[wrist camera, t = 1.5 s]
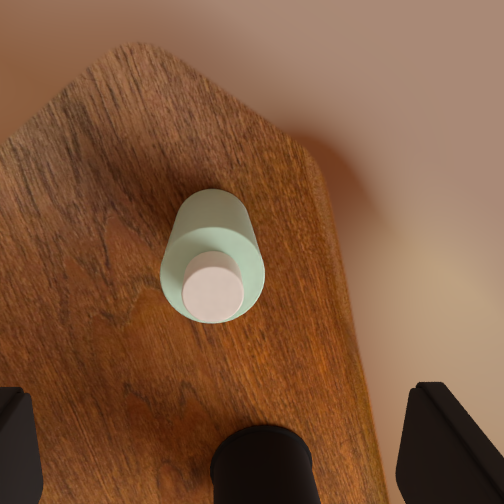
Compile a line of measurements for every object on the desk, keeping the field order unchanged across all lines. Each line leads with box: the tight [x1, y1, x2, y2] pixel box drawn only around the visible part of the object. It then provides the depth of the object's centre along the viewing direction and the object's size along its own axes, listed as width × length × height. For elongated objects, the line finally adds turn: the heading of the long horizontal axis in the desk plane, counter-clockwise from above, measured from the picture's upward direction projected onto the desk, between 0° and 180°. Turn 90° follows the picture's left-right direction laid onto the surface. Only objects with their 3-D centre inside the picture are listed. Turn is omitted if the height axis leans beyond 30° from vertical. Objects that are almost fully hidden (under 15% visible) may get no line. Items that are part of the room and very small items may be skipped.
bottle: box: [160, 189, 265, 323], centre depth 23 cm, size 5×5×11 cm
